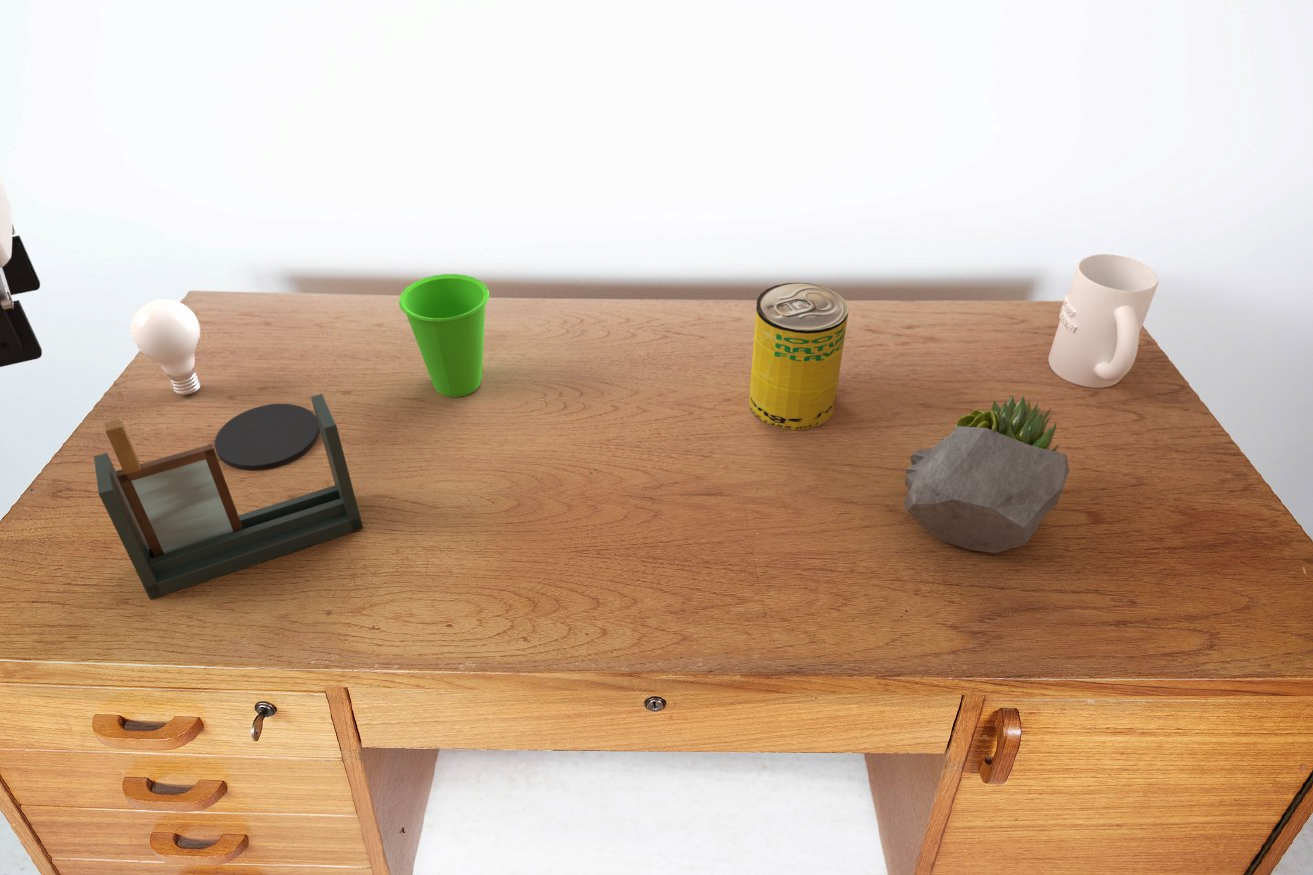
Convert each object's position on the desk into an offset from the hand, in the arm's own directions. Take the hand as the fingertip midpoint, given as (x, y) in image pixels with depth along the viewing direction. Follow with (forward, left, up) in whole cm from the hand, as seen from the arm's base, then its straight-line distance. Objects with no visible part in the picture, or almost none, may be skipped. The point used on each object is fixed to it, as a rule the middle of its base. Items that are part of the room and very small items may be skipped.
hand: (16, 325), depth 65 cm
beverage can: (+63, -4, -26) cm, 69 cm away
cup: (+33, +16, -26) cm, 45 cm away
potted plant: (+68, -26, -26) cm, 78 cm away
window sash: (+5, +1, -25) cm, 25 cm away
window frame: (+9, +1, -26) cm, 28 cm away
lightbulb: (+7, +28, -26) cm, 39 cm away
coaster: (+13, +16, -26) cm, 33 cm away
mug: (+95, -16, -26) cm, 100 cm away
